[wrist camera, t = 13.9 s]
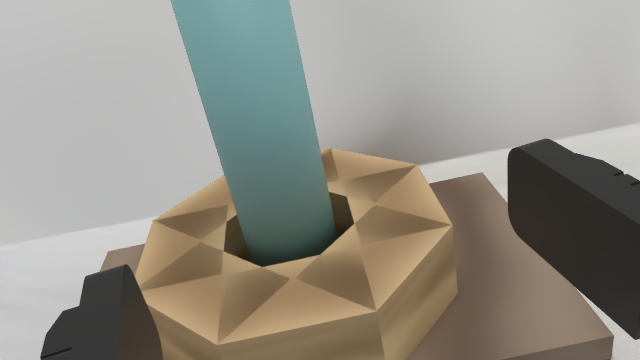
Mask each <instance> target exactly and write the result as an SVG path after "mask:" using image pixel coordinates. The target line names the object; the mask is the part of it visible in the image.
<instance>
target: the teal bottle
mask: <svg viewBox="0 0 640 360" xmlns="http://www.w3.org/2000/svg"><path fill="white" fill-rule="evenodd" d="M171 4H172V7H173V10H174V13H175V16H176V20H177V23H178V26H179V29H180V32H181V36H182V39H183V42H184V46H185V49H186V52H187V55H188V58H189V62H190V65H191V68H192V71H193V74H194V77H195V81H196V84H197V87H198V91H199V94H200V97H201V100H202V104H203V107H204V110H205V113H206V116H207V120H208V123H209V126H210V129H211V132H212V136H213V139H214V142H215V145H216V149H217V152H218V155H219V158H220V162H221V165H222V168H223V171H224V175H225V178H226V181H227V184H228V188H229V191H230V194H231V197H232V200H233V204H234V207H235V210H236V213H237V217H238V220H239V223H240V226H241V229H242V233H243V236H244V239H245V242H246V246H247V249H248V252H249V255H250V259H251V262H252V263H253V264H255V265H258V266H260V267H266V266H270V265H275V264H280V263H284V262H289V261H294V260H299V259H303V258H308V257H313V256H317V255H321V254H322V253H323V252H324V251H325V250H326V249H327V248H328V247H329V246H331V245H332V244H333V243H334V242H335V241H336V240H337V239H338V235H337V230H336V225H335V220H334V216H333V211H332V206H331V201H330V196H329V191H328V186H327V182H326V177H325V172H324V167H323V162H322V157H321V152H320V147H319V143H318V138H317V133H316V128H315V123H314V118H313V113H312V109H311V104H310V99H309V94H308V89H307V84H306V79H305V75H304V70H303V65H302V60H301V55H300V50H299V46H298V40H297V36H296V31H295V27H294V21H293V16H292V11H291V6H290V2H289V0H171Z"/></svg>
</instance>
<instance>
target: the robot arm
mask: <svg viewBox="0 0 640 360" xmlns="http://www.w3.org/2000/svg"><path fill="white" fill-rule="evenodd" d="M508 216H509V220H510V223H511V225H512V227H513V229H514V231H515V233H516V234H517V235H518V237H519V238H520V239H521V240H522V241H524V242H525V243H526V244H527V245H528V246H529V247H530V248H532V249H533V250H534V251H535V252H536V253H537V254H538V255H539V256H541V257H542V258H543V259H544V260H545V261H546V262H547V263H549V264H550V265H551V266H552V267H553V268H554V269H555V270H556V271H558V272H559V273H560V274H561V275H562V276H563V277H564V278H566V279H567V280H568V281H569V282H570V283H571V284H572V285H573V286H575V287H576V288H577V289H578V290H579V291H580V292H581V293H583V294H584V295H585V296H586V297H587V298H588V299H589V300H590V301H592V302H593V303H594V304H595V305H596V306H597V307H598V308H600V309H601V310H602V311H603V312H604V313H605V314H606V315H607V316H609V317H610V318H611V319H612V320H613V321H614V322H615V323H617V324H618V325H619V326H620V327H621V328H622V329H623V330H624V331H626V332H627V333H628V334H629V335H630V336H631V337H632V338H634V339H635V340H637V339H640V181H639V180H637V179H636V178H634V177H632V176H630V175H628V174H625V175H624V174H623V171H621V170H619V169H617V168H616V167H614V166H612V165H610V164H608V163H606V162H605V161H603V160H599V159H596V158H592V157H588V156H584V155H581V154H577V153H576V154H575V153H573V152H572V151H570V150H568V149H566V148H565V147H563V146H561V145H559V144H558V143H556V142H554V141H552V140H550V139H543V140H539V141H536V142H533V143H529V144H526V145H522V146H519V147H516V148H513V149H512V150H511V151H510V152H509V155H508ZM40 358H41V360H163V353H162V346H161V341H160V337H159V333H158V330H157V327H156V324H155V322H154V319H153V317H152V315H151V313H150V310H149V308H148V306H147V303H146V301H145V299H144V297H143V294H142V292H141V290H140V287H139V285H138V283H137V281H136V278H135V276H134V274H133V272H132V270H131V268H130V267H129V266H128V265H127V264H124V265H121V266H118V267H114V268H111V269H108V270H104V271H101V272H98V273H94V274H91V275H88V276H86V277H85V279H84V284H83V289H82V294H81V300H80V305H79V306H78V307H75V308H71V309H68V310H65V311H63V312H62V313H61V314H60V316H59V317H58V319H57V320H56V321H55V323H54V324H53V325H52V327H51V328H50V330H49V331H48V332H47V334H46V337H45V341H44V345H43V349H42V352H41V356H40Z"/></svg>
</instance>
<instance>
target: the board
mask: <svg viewBox="0 0 640 360" xmlns="http://www.w3.org/2000/svg"><path fill="white" fill-rule="evenodd" d="M429 186H430V187H431V189H432V191H433V192H434V194H435V196H436V198H437V199H438V201H439V203H440V204H441V206H442V208H443V210H444V211H445V213H446V215H447V216H448V218H449V220H450V221H451V223H452V225H453V234H454V247H455V260H456V273H457V286H458V293H457V295H456V296H455V297H454V299H453V300H452V301H451V303H450V304H449V305H448V306H447V308H446V309H445V310H444V312H443V313H442V314H441V316H440V317H439V318H438V320H437V321H436V322H435V324H434V325H433V326H432V328H431V329H430V330H429V332H428V333H427V334H426V335H425V337H424V338H423V339H422V341H421V342H420V343H419V345H418V346H417V347H416V349H415V350H414V351H413V353H412V354H411V355H410V357H409V358H408V359H407V360H608V359H611V357H612V348H613V339H614V335H613V334H612V333H611V331H610V330H609V329H608V328H607V327H606V325H605V324H604V323H603V322H602V320H601V319H600V318H599V317H598V315H597V314H596V313H595V312H594V310H593V309H592V308H591V307H590V305H589V304H588V303H587V302H586V300H585V299H584V298H583V297H582V295H581V294H580V293H579V292H578V291H577V289H576V288H575V287H574V286H573V285H572V284H571V283H570V282H569V281H568V280H567V279H566V278H564V277H563V276H562V275H561V274H560V273H559V272H558V271H556V270H555V269H554V268H553V267H552V266H551V265H550V264H549V263H547V262H546V261H545V260H544V259H543V258H542V257H541V256H539V255H538V254H537V253H536V252H535V251H534V250H533V249H532V248H530V247H529V246H528V245H527V244H526V243H525V242H524V241H522V240H521V239H520V238H519V237H518V235H517V234H516V233H515V231H514V229H513V227H512V225H511V223H510V220H509V216H508V204H507V202H506V201H505V200H504V199H503V197H502V196H501V195H500V194H499V193H498V191H497V190H496V189H495V188H494V186H493V185H492V184H491V183H490V181H489V180H488V179H487V178H486V176H485V175H484V174H483V173H477V174H472V175H468V176H463V177H458V178H454V179H449V180H444V181H439V182H435V183H430V184H429ZM144 247H145V244H142V245H137V246H132V247H128V248H123V249H118V250H113V251H109V252H108V253H107V256H106V258H105V260H104V263H103V265H102V267H101V270H100V272H101V271H104V270H108V269H111V268H114V267H118V266H121V265H124V264H127V265H128V266H129V267H130V268H131V270H132V272H133V274H134V276H135V274H136V271H137V268H138V265H139V262H140V259H141V256H142V253H143V250H144Z"/></svg>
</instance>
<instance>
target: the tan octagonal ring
mask: <svg viewBox="0 0 640 360" xmlns="http://www.w3.org/2000/svg"><path fill="white" fill-rule="evenodd" d="M320 152H321V157H322V162H323V167H324V172H325V177H326V182H327V186H328V191H329V196H330V201H331V206H332V211H333V216H334V220H335V225H336V230H337V235H338V239H337V240H336V241H335V242H334V243H333V244H332V245H331V246H329V247H328V248H327V249H326V250H325V251H324V252H323V253H322V254H321V255H317V256H313V257H308V258H303V259H299V260H294V261H289V262H284V263H280V264H275V265H270V266H266V267H260V266H258V265H255V264H253V263H252V262H251V259H250V255H249V252H248V249H247V246H246V242H245V239H244V236H243V233H242V229H241V226H240V223H239V220H238V217H237V213H236V210H235V207H234V204H233V200H232V197H231V194H230V191H229V188H228V184H227V181H226V178H225V175H223V176H222V177H220V178H219V179H217V180H216V181H214V182H213V183H211V184H210V185H208V186H206V187H205V188H203V189H202V190H200V191H198V192H197V193H195V194H194V195H192V196H191V197H189V198H188V199H186V200H185V201H183V202H181V203H180V204H178V205H177V206H175V207H173V208H172V209H170V210H169V211H167V212H166V213H164V214H163V215H161V216H159V217H158V218H156V219H155V220H153V222H152V225H151V228H150V232H149V235H148V238H147V241H146V244H145V247H144V250H143V253H142V256H141V259H140V262H139V265H138V268H137V271H136V274H135V278H136V281H137V283H138V285H139V287H140V290H141V292H142V294H143V297H144V299H145V301H146V303H147V306H148V308H149V310H150V313H151V315H152V317H153V319H154V322H155V324H156V327H157V330H158V333H159V337H160V341H161V346H162V353H163V360H407V359H408V358H409V357H410V355H411V354H412V353H413V351H414V350H415V349H416V347H417V346H418V345H419V343H420V342H421V341H422V339H423V338H424V337H425V335H426V334H427V333H428V332H429V330H430V329H431V328H432V326H433V325H434V324H435V322H436V321H437V320H438V318H439V317H440V316H441V314H442V313H443V312H444V310H445V309H446V308H447V306H448V305H449V304H450V303H451V301H452V300H453V299H454V297H455V296H456V295H457V293H458V286H457V273H456V260H455V247H454V234H453V225H452V223H451V221H450V220H449V218H448V216H447V215H446V213H445V211H444V210H443V208H442V206H441V204H440V203H439V201H438V199H437V198H436V196H435V194H434V192H433V191H432V189H431V187H430V186H429V184H428V182H427V181H426V179H425V177H424V175H423V174H422V172H421V170H420V169H419V167H418V165H416V164H411V163H405V162H400V161H395V160H390V159H384V158H379V157H374V156H368V155H363V154H358V153H353V152H348V151H342V150H337V149H332V148H330V149H325V150H320Z"/></svg>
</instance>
